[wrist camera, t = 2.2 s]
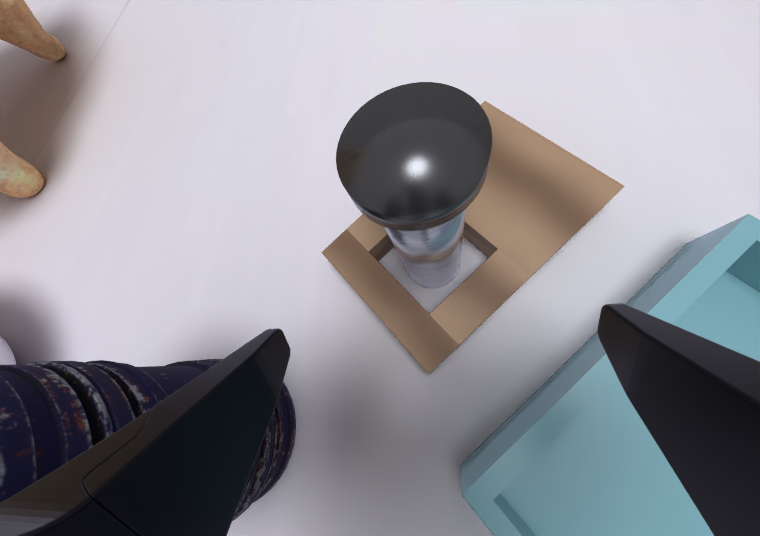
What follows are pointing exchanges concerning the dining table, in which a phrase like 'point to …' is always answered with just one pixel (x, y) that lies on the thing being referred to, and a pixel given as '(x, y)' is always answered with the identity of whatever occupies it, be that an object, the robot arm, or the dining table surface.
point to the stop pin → (418, 171)
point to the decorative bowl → (20, 27)
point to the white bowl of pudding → (6, 353)
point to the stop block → (482, 239)
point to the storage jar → (106, 417)
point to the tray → (615, 414)
